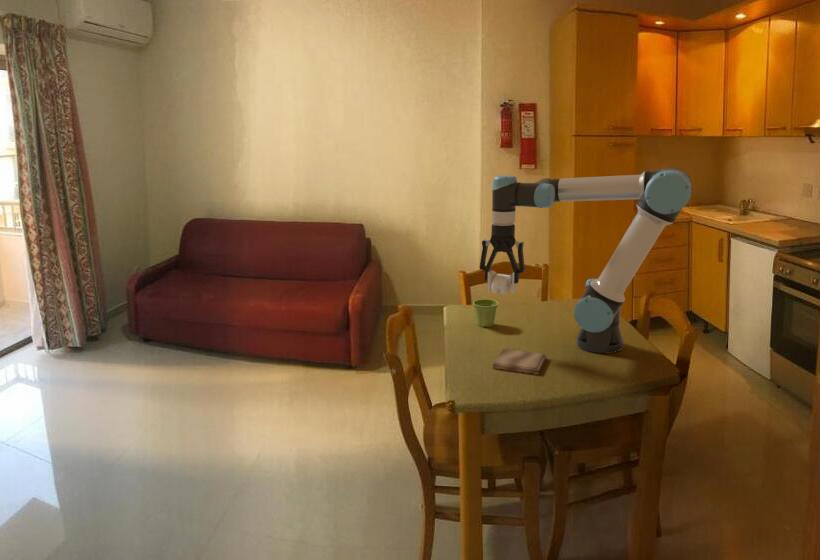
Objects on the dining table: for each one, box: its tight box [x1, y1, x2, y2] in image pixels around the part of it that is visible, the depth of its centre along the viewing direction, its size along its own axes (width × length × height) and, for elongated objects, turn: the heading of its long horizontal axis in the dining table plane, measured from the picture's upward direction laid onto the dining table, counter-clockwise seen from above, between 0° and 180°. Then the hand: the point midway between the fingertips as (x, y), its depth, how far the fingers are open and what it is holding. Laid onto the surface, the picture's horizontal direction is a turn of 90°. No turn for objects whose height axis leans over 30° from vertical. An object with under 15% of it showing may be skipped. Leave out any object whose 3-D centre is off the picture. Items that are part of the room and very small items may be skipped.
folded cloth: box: [492, 348, 547, 374], centre depth 199 cm, size 14×14×2 cm
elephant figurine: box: [489, 270, 514, 296], centre depth 210 cm, size 8×10×7 cm
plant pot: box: [472, 298, 500, 328], centre depth 235 cm, size 9×9×9 cm
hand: (501, 291), depth 211 cm, fingers closed on elephant figurine, 7 cm apart
